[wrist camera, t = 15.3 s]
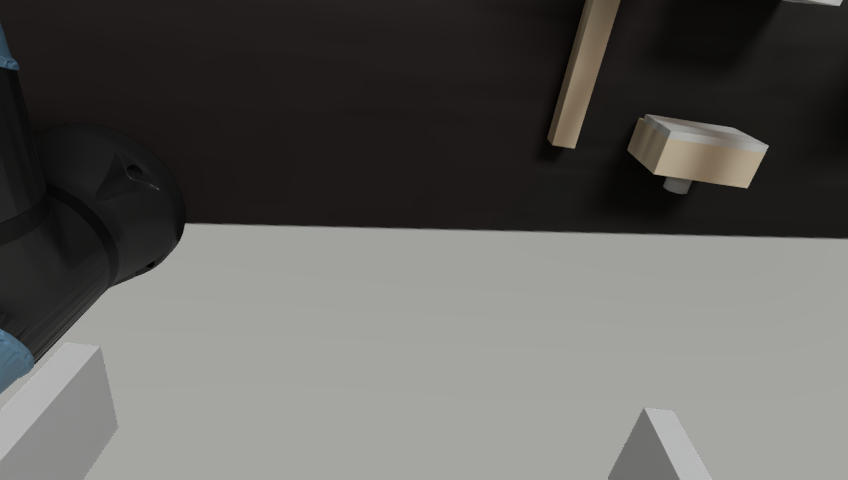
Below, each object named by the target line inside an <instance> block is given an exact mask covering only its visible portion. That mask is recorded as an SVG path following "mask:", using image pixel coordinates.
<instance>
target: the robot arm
mask: <svg viewBox="0 0 848 480" xmlns="http://www.w3.org/2000/svg"><path fill="white" fill-rule="evenodd" d="M16 70H19V65H18V64H17V62H16V61H15V60H14V59H13V58H12V57H11V54H10V51H9V48H8V45H7V41H6V38H5V35H4V32H3V29H2V26H1V23H0V394H1V393H2V392H3V391H4V390H5V389H7V388H8V387H9V386H10V385H11V384H12V383H13V382H14V381H16V380H17V379H18V378H20V377H22V376H23V375H25V374H27V373H29V372H30V371H31V369H32V368H33V367H34V365H35V364H36V363H37V362H38V360H40V359H41V358H42V356H43V355H44V354H45V353H46V352H47V351H48V350H49V349H50V348H51V347H52V346H53V345H54V344H55V343H56V342H57V341H58V340H59V339H60V338H61V337H62V336H63V335H64V334H65V333H66V331H68V330H69V328H70V327H71V326H72V325H73V324H74V323H75V322H76V321H77V320H78V319H79V318H80V317H81V316H82V315H83V314H84V313H85V312H86V311H87V310H88V309H89V308H90V307H91V306H92V305H93V304H94V303H95V302H96V300H97V299H98V298H99V297H100V296H101V295H102V294H103V293H104V292H105V291H106V290H107V289H108V288H110V287H112V286H115V285H117V284H119V283H122V282H124V281H127V280H129V279H132V278H133V277H135V276H138V275H141V274H143V273H146V272H148V271H150V270H151V269H153V268H155V267H156V266H157V265H159V264H160V263H161V262H162V261H163V260H164V259H165V258H166V257H167V256H168V255H169V254H170V252H172V251H173V249H174V248H175V247H176V246H177V244H178V242H179V241H180V239H181V236H182V234H183V230H184V226H185V208H184V203H183V199H182V196H181V193H180V191H179V188H178V186H177V184H176V182H175V181H174V179H173V177H172V176H171V174H170V173H169V171H168V170H167V169H166V167H165V166H164V165H163V164H162V163H161V162H160V161H159V159H158V158H157V157H155V156H154V155H153V154H152V153H151V152H150V151H149V150H148V149H146V148H145V147H144V146H142V145H141V144H139V143H138V142H136V141H135V140H133V139H131V138H130V137H128V136H126V135H124V134H122V133H119V132H117V131H115V130H112V129H109V128H106V127H102V126H98V125H92V124H81V123H75V124H65V125H60V126H57V127H54V128H51V129H49V130H46V131H44V132H42V133H39V134H37V135H35V136H33V134H32V130H31V126H30V122H29V118H28V114H27V110H26V106H25V102H24V98H23V94H22V90H21V86H20V82H19V79H18V75H17V71H16ZM117 428H118V424H117V420H116V415H115V410H114V406H113V401H112V397H111V393H110V388H109V383H108V379H107V374H106V369H105V365H104V360H103V356H102V351H101V347H100V346H95V345H87V344H78V343H69V342H66V343H65V344H64V345H63V346H62V347H61V348H60V349H59V350H58V351H57V352H56V353H55V354H54V355H53V356H52V357H51V358H50V359H49V360H48V361H47V362H46V363H45V364H44V365H43V366H42V367H41V369H39V371H37V372H36V374H35V375H34V376H33V377H32V378H31V379H30V380H29V381H28V382H27V383H26V384H25V385H24V386H23V387H22V388H21V389H20V390H19V391H18V392H17V393H16V394H15V395H14V396H13V397H12V398H11V399H10V400H9V401H8V402H7V403H6V404H5V405H4V407H2V409H1V410H0V480H83V479H84V477H85V476H86V474H87V473H88V471H89V470H90V469H91V467H92V466H93V464H94V462H95V461H96V460H97V458H98V457H99V455H100V454H101V452H102V450H103V449H104V447H105V446H106V445H107V443H108V442H109V440H110V439H111V437H112V436H113V434H114V433H115V431H116V430H117ZM608 479H609V480H712V479H711V477H710V475H709V473H708V472H707V470H706V468H705V466H704V464H703V463H702V461H701V459H700V457H699V456H698V454H697V452H696V450H695V448H694V447H693V445H692V443H691V441H690V440H689V438H688V436H687V434H686V432H685V431H684V429H683V427H682V425H681V423H680V422H679V420H678V418H677V416H676V415H675V413H674V411H671V410H663V409H654V408H645V407H644V408H643V410H642V412H641V414H640V416H639V418H638V420H637V422H636V424H635V426H634V428H633V430H632V432H631V434H630V436H629V438H628V440H627V442H626V443H625V446H624V447H623V449H622V451H621V453H620V455H619V457H618V459H617V461H616V463H615V465H614V467H613V469H612V471H611V473H610V475H609V477H608Z"/></svg>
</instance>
